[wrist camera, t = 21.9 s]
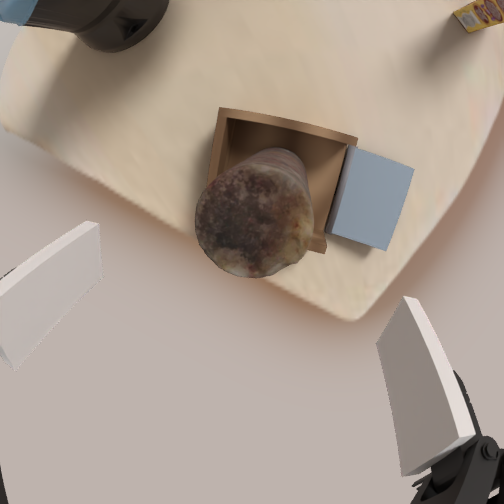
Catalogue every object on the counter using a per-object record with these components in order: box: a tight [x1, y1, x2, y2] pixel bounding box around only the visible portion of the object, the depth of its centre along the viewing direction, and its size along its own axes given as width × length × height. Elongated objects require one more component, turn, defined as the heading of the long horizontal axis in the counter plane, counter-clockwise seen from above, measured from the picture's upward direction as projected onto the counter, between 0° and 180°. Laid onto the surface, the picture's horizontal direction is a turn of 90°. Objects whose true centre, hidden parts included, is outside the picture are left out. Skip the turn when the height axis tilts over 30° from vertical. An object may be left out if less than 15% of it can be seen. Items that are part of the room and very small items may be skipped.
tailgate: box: [325, 145, 414, 251], centre depth 32 cm, size 1×12×9 cm
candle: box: [195, 147, 314, 278], centre depth 25 cm, size 8×7×20 cm
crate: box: [206, 107, 358, 254], centre depth 32 cm, size 15×14×6 cm
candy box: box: [453, 0, 504, 33], centre depth 10 cm, size 9×4×15 cm, turn 133°
